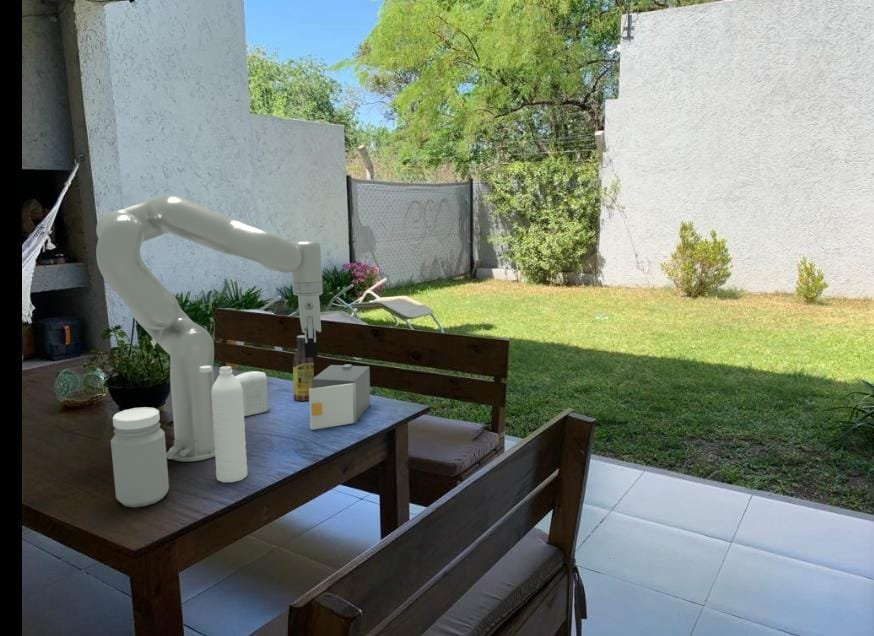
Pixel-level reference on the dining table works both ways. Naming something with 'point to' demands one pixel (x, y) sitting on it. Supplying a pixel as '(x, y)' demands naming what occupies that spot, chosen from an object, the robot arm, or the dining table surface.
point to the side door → (332, 405)
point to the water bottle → (228, 426)
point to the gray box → (347, 382)
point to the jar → (139, 457)
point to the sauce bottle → (302, 372)
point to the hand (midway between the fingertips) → (311, 356)
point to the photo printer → (254, 392)
